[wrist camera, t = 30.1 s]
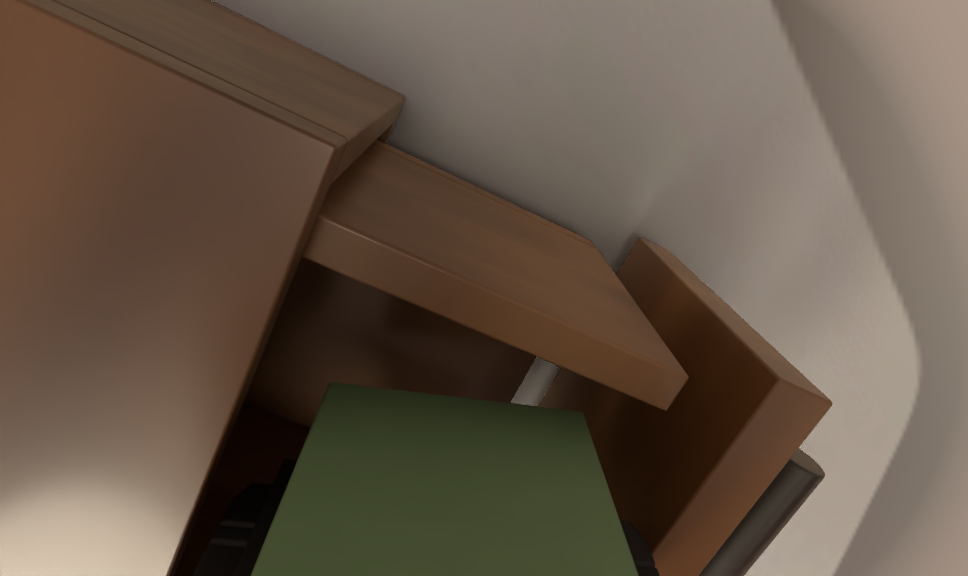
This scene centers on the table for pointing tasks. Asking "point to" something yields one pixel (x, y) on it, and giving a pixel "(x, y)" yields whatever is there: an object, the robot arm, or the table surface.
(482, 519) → the block
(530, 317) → the drawer
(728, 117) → the table surface
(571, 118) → the table surface
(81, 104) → the cabinet
